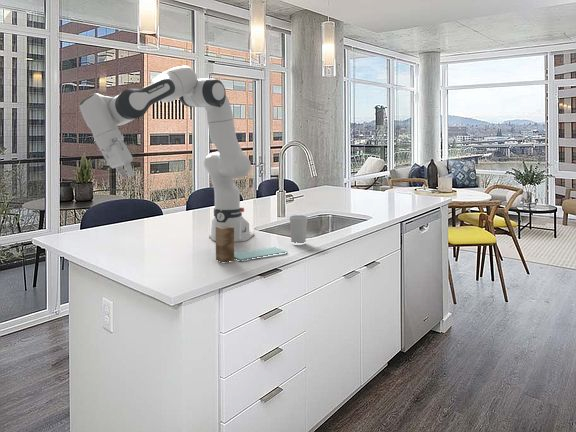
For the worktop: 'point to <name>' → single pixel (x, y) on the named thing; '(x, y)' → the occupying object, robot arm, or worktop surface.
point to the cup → (298, 228)
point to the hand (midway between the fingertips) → (128, 176)
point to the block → (225, 243)
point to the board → (257, 253)
